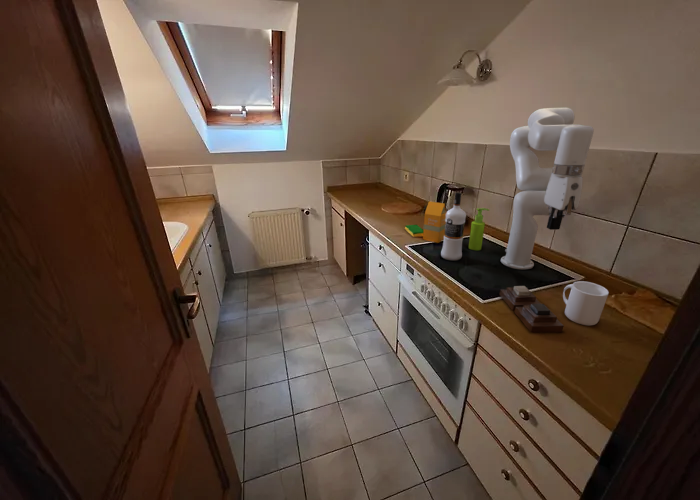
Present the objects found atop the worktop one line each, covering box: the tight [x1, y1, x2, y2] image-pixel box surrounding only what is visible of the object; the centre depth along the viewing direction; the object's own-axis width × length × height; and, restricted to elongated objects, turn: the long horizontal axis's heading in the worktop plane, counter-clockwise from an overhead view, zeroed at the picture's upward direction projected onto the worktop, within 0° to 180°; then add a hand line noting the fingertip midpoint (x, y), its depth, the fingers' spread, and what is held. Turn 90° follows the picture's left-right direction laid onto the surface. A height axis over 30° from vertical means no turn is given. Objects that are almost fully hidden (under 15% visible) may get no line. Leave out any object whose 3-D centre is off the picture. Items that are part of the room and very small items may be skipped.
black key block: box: [514, 305, 565, 333], centre depth 91 cm, size 10×9×4 cm
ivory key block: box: [498, 286, 542, 312], centre depth 101 cm, size 10×9×4 cm
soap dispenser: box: [467, 207, 490, 251], centre depth 142 cm, size 6×7×20 cm
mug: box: [562, 280, 610, 326], centre depth 93 cm, size 9×12×11 cm
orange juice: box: [422, 201, 447, 244], centre depth 155 cm, size 8×9×20 cm
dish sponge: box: [404, 224, 424, 238], centre depth 169 cm, size 7×14×2 cm, turn 9°
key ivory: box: [513, 285, 531, 295], centre depth 100 cm, size 4×4×2 cm
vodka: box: [440, 191, 467, 262], centre depth 132 cm, size 9×9×30 cm
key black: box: [530, 303, 551, 315], centre depth 90 cm, size 4×4×2 cm
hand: (552, 228), depth 96 cm, fingers closed
